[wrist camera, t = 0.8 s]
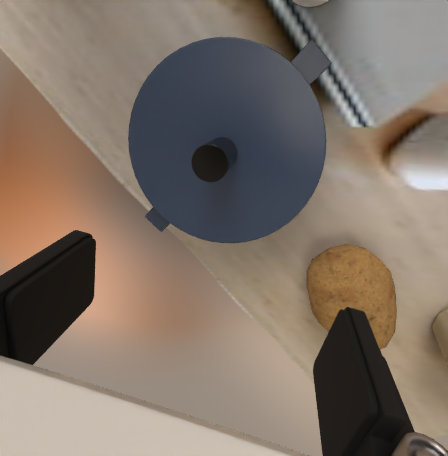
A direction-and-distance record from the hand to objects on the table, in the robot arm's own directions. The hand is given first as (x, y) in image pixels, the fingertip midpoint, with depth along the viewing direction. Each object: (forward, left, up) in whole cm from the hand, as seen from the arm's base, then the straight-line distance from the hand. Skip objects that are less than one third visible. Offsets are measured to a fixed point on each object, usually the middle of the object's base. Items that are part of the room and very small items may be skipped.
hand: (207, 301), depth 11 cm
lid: (-4, -1, -18) cm, 19 cm away
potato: (+18, +3, -27) cm, 33 cm away
